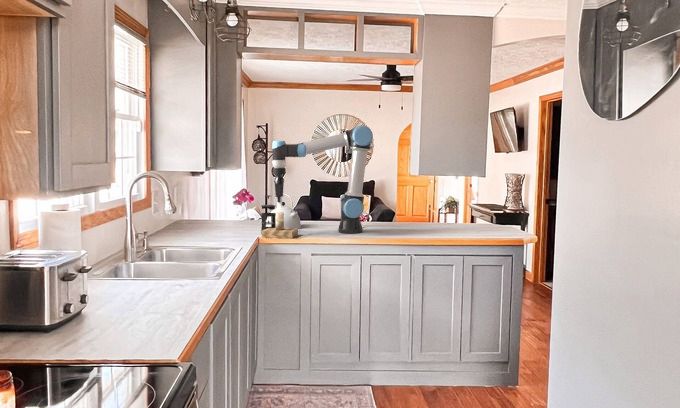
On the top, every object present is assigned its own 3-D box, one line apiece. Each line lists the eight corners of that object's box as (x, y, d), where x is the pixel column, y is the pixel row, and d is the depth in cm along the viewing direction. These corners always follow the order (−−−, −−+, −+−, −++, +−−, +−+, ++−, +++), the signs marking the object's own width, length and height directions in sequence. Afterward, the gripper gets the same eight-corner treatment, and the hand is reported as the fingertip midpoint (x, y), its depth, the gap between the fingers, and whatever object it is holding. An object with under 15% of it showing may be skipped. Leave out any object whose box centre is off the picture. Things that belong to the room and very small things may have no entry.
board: (298, 235, 333) (297, 228, 333) (292, 238, 319) (291, 231, 319) (268, 234, 336) (268, 227, 336) (261, 238, 322) (261, 231, 322)
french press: (270, 234, 332) (269, 196, 330) (257, 233, 336) (256, 195, 334) (280, 232, 343) (280, 194, 341) (268, 231, 347) (267, 194, 345)
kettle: (310, 228, 364) (310, 193, 362) (283, 231, 348) (283, 195, 346) (285, 224, 381) (285, 191, 379) (258, 228, 365) (258, 193, 363)
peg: (285, 236, 330) (284, 212, 328) (283, 237, 325) (282, 213, 324) (277, 235, 331) (276, 212, 329) (274, 237, 326) (274, 213, 324)
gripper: (276, 167, 331) (276, 206, 333) (269, 167, 318) (270, 208, 320) (288, 167, 330) (288, 206, 332) (282, 167, 317) (282, 209, 319)
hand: (279, 207), depth 326 cm, fingers closed
